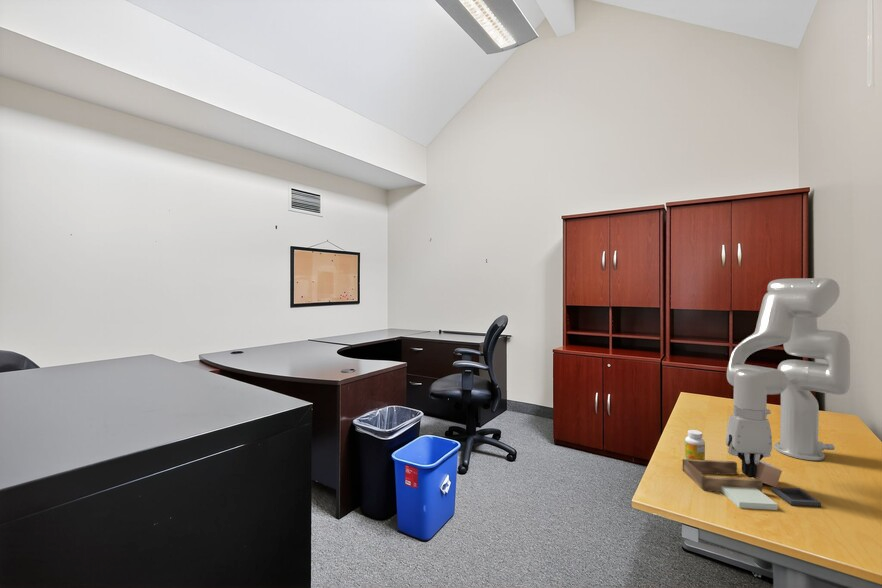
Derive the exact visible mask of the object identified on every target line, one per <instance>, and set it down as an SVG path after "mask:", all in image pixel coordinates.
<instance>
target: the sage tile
mask: <svg viewBox="0 0 882 588" xmlns="http://www.w3.org/2000/svg"><path fill="white" fill-rule="evenodd" d="M721 494H723V495H724V496H725V497H727V498H728V499H729V500H730V501H731V502H732V503H733V504H734V505H735V506H736V507H738V508H739V509H752V510H753V509H754V510H769V511H771V510H773V511H778V502H775V501H774V500H773V499H771V498H770V497H769V496H768V495H766V494H765V493H764V492H763V491H762V492H761V491H760V490H758V489H757V488H746V487H725V486H721Z"/></svg>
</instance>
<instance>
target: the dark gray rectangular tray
mask: <svg viewBox="0 0 882 588" xmlns="http://www.w3.org/2000/svg"><path fill="white" fill-rule="evenodd" d="M771 492H772V493H774V494H775V495H776V496H778V497H779V498H780V499H782V500H783V501H784V502H786V503H787V504H789V505H790V506H794V507H813V508H822V502H821V501H819V500H818V499H817V498H815V497H813V496H812V495H810V494H809V493H808V492H806V491H804V490H803V489H801V488H800V487H799V488H796V487H777V486H776V487H774V486H771Z"/></svg>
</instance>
